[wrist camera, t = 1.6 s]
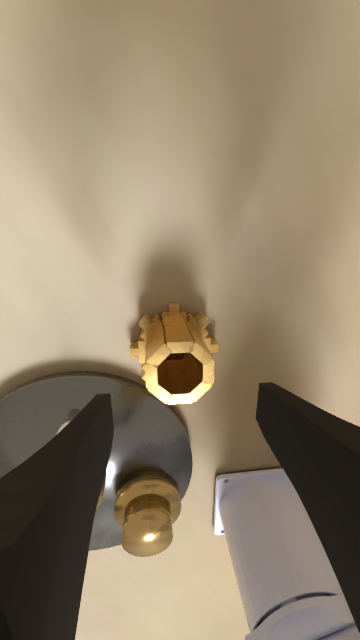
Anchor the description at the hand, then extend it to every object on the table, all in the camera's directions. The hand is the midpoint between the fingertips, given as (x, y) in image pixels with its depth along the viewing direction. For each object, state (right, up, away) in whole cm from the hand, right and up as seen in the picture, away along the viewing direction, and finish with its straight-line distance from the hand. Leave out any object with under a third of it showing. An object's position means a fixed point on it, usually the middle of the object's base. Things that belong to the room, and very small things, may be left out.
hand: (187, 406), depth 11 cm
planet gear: (-1, +2, +8) cm, 8 cm away
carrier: (-9, -9, +10) cm, 16 cm away
